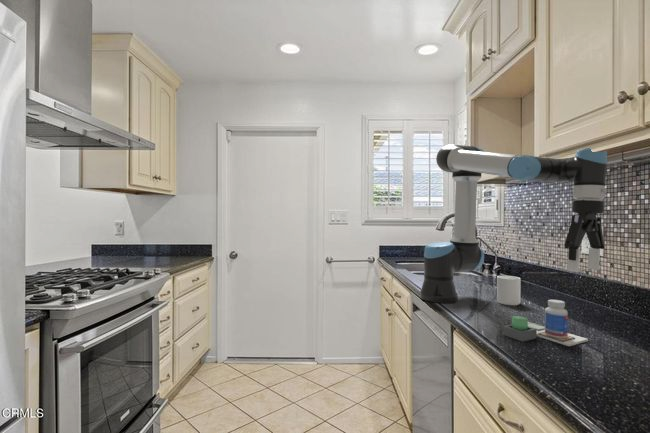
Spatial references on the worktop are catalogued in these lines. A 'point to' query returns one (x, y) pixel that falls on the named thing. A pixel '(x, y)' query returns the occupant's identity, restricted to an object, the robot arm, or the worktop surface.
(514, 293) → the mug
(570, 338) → the white rectangular board
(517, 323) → the button
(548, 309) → the pill bottle
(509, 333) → the button frame
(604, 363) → the worktop surface
